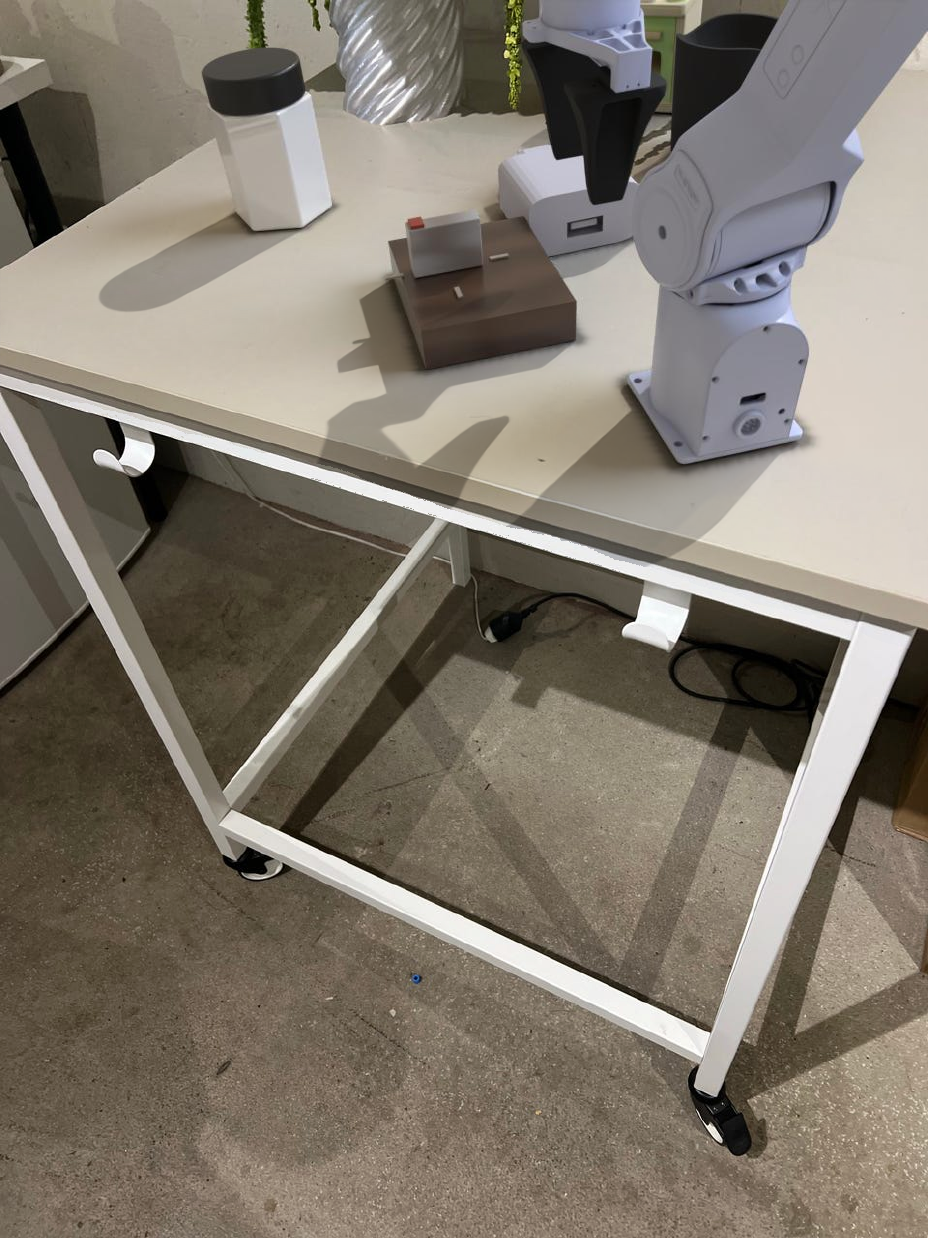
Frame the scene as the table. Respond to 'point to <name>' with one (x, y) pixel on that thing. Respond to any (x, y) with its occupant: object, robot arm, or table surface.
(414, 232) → the block
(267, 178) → the jar
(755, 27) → the pen holder
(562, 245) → the charger
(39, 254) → the table surface
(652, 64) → the toy kitchen stove
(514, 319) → the brown square block base
